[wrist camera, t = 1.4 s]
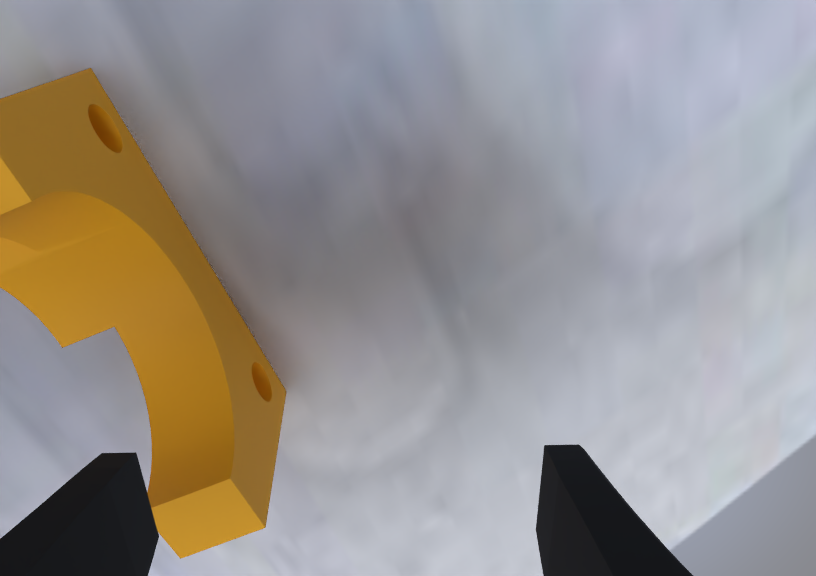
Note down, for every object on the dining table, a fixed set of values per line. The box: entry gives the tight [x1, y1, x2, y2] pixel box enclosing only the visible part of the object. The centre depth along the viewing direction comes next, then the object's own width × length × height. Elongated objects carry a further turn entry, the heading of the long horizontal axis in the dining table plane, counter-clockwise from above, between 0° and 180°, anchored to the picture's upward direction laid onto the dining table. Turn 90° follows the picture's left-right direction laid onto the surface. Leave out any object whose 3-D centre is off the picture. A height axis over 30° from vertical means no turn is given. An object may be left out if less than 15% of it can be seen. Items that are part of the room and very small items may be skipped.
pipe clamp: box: [0, 68, 286, 559], centre depth 18 cm, size 12×4×6 cm, turn 22°
